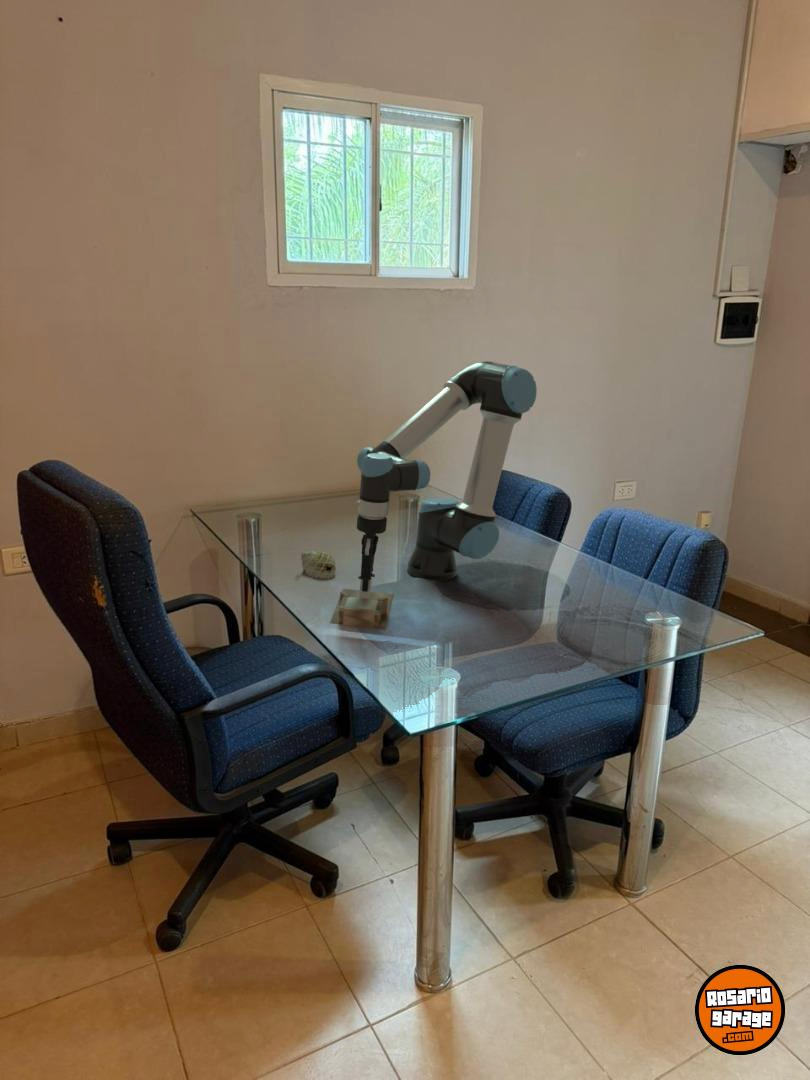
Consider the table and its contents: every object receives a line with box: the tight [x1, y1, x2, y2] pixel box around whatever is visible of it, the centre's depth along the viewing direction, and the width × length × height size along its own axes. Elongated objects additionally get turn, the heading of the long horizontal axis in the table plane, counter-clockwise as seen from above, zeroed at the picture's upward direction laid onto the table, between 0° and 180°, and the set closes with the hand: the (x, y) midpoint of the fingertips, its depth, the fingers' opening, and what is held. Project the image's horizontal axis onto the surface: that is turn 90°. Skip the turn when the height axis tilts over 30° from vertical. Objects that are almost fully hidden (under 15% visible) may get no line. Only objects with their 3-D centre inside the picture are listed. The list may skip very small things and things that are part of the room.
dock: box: [329, 588, 394, 631], centre depth 194 cm, size 14×23×6 cm, turn 177°
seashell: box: [300, 550, 337, 580], centre depth 215 cm, size 10×10×10 cm
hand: (364, 600), depth 196 cm, fingers closed
